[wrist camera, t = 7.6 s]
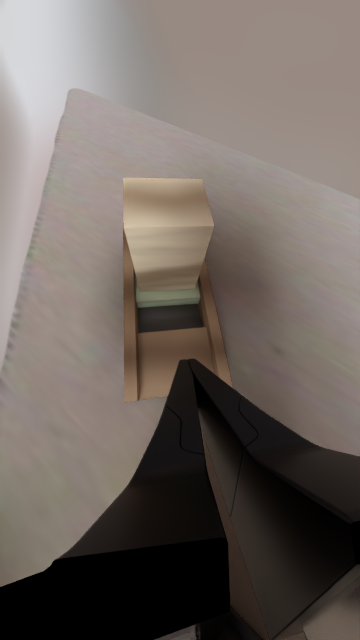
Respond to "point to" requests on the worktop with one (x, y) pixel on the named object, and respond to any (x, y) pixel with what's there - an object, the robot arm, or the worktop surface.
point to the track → (167, 333)
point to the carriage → (166, 231)
